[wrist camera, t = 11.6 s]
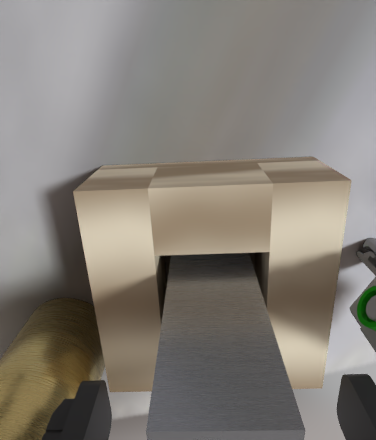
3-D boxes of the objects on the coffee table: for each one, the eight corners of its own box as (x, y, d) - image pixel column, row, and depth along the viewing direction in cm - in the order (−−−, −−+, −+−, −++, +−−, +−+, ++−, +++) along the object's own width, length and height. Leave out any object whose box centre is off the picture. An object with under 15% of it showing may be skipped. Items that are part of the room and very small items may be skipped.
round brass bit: (20, 299, 23) (-98, 444, 14) (106, 296, 23) (45, 443, 13) (39, 365, 25) (-52, 529, 16) (118, 363, 25) (72, 529, 16)
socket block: (102, 165, 19) (72, 191, 15) (312, 156, 19) (351, 180, 14) (126, 332, 24) (110, 391, 19) (297, 327, 23) (322, 388, 19)
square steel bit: (174, 234, 20) (145, 431, 9) (242, 232, 19) (305, 430, 8) (178, 292, 21) (158, 523, 10) (241, 290, 21) (293, 523, 10)
